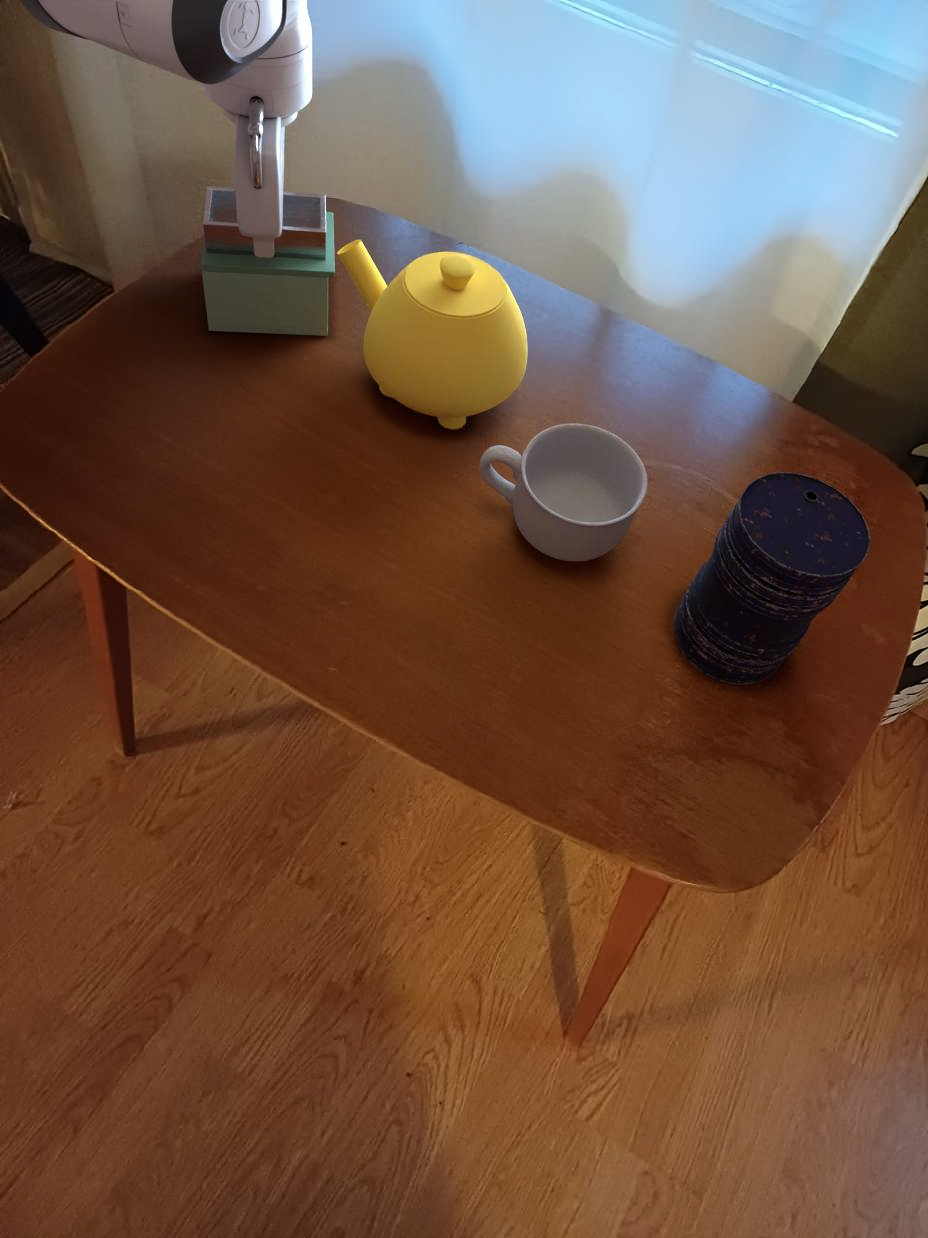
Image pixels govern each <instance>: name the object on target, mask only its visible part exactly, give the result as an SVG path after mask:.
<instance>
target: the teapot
mask: <svg viewBox="0 0 928 1238" xmlns="http://www.w3.org/2000/svg"><path fill="white" fill-rule="evenodd" d="M336 254H337V256H338V259H339V260H340V262H341V263H342V265H343V267H344V268H345V270H346V272H347V273H348V275H349V277H350V279H351V280H352V282H353V284H354V285H355V287H356V289H357V291H358V292H359V294H360V296H361V298H362V299H363V302H364V303H365V305H366V306H367V308H368V310H369V311H370V314H369V317H368V319H367V322H366V325H365V329H364V334H363V340H362V342H363V343H362V355H363V359H364V362H365V366H366V368H367V370H368V372H369V374H370V376H371V377H372V378H373V380H374V381H375V383H377V385H378V386H379V391H380V393H381V394H382V395H384V396H386V397H389V398H392V399H394V400H395V401H397V402H398V403H400V404H401V405H403V406H405V407H406V408H408V409H410V410H413V411H415V412H418V413H420V414H423V415H427V416H431V417H435V418H437V421H438V423H439V425H441V426H442V427H443V428H446V429H448V430H458V429H461V428H463V426H465V424H466V423H467V417H471V416H473V415H477V414H481V413H483V412H486V411H488V410H491V409H493V408H494V407H496V406H498V405H500V404H502V403H503V402H505V401H506V400H508V398H509V397H510V396H512V395H513V394H514V392H515V391H516V390H517V389H518V388H519V387H520V385H521V384H522V381H523V379H524V377H525V374H526V370H527V365H528V356H529V355H528V353H529V352H528V351H529V346H528V335H527V328H526V325H525V321H524V317H523V314H522V311H521V309H520V307H519V304H518V302H517V300H516V298H515V296H514V293H513V292H512V290H511V289H510V286H509V285H508V283H507V282H506V279H505V278H504V277H503V275H502V274H501V273H500V272H499V271H498V270H497V269H496V268H495V267H494V266H492V265H491V264H489V262H486V261H485V260H483V259H480V258H478V257H476V256H473V255H472V254H471V255H470V254H468V253H463V252H457V251H437V252H431V253H427V254H424V255H421V256H419V257H417V258H416V259H414V260H412V261H411V262H410V263H408V265H406V266H405V267H404V268H403V269H402V270H401V271H399V272H398V274H397V275H396V276H395V277H394V278H393V279H392V280H391V281H390V282H389V283H388V284H387V283H386V282H385V280H384V278H383V276H382V274H381V272H380V271H379V269H378V268H377V265H376V264H375V262H374V261H373V258H372V257H371V255H370V253H369V252H368V250H367V248H366V246H365V245H364V243H363V241H362V239H361V238H360V239H359V238H358V239H355V240H353V241H351V242H349V243H348V244H347V243H346V244H345V245H344V246H343V247H341V248H340V249H339V250H338V251H337V252H336Z"/></svg>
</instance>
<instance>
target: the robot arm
mask: <svg viewBox="0 0 928 1238" xmlns="http://www.w3.org/2000/svg"><path fill="white" fill-rule="evenodd" d="M19 1H20V3H21V5H22V6H23V7H24V8H25V10H26V11H27V12H28V13H29V14H30V15H31V16H32V17H33V19H35V20H36V21H38V23H40V24H41V25H43V26H45V27H46V28H48V29H51V30H54V31H57V32H61V33H64V34H66V35H70V36H74V37H77V38H79V39H82V40H83V39H84V40H87V41H91V42H94V43H97V44H99V45H101V46H104V47H106V48H109V49H111V50H113V51H116V52H118V53H121V54H123V55H126V56H127V57H131V58H133V59H135V60H138V61H140V62H143V63H145V64H148V65H151V66H154V67H156V68H159V69H162V70H164V71H167V72H169V73H171V74H174V75H176V76H179V77H182V78H184V79H187V80H189V81H192V82H196V83H201V84H203V85H204V91H205V93H206V94H207V96H208V98H209V99H210V100H211V101H212V102H213V103H214V104H215V105H217V106H218V107H220V108H221V110H222V113H223V115H224V116H225V117H226V118H227V119H228V120H230V121H231V122H232V123H234V124H235V128H234V129H235V130H234V141H233V142H234V143H233V173H234V188H235V193H236V208H237V222H238V228H239V231H240V233H241V234H242V235H243V236H246V237H252V238H253V244H254V254H255V255H256V256H257V257H263V258H271V257H273V256H274V238H278V237H280V236H281V233H282V222H283V192H284V180H285V179H284V178H285V177H284V175H285V174H284V172H285V135H286V134H285V131H286V128H285V127H287V126H289V125H290V124H292V123H293V122H294V121H295V120H296V118H297V117H298V114H299V113H298V112H299V111H301V110H303V109H304V108H305V107H306V106H308V105H309V103H310V102H311V101H312V97H313V29H312V24H311V20H310V17H309V13H308V2H307V1H308V0H19Z"/></svg>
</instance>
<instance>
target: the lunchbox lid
mask: <svg viewBox="0 0 928 1238" xmlns="http://www.w3.org/2000/svg"><path fill="white" fill-rule="evenodd" d="M334 229H335V227H334V212H333V211H326V260H316V259H300V258H283V257H271V258H263V257H257V256H250V255H233V254H217V253H206V246H205V236H204V235H203V241H202V250H201V259H200V260H201V261H200V268H201V272H202V271H216V272H234V273H252V274H270V275H288V276H305V277H323V278H328V279H335V277H336V269H335V268H336V267H335V264H336V263H335V230H334Z"/></svg>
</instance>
